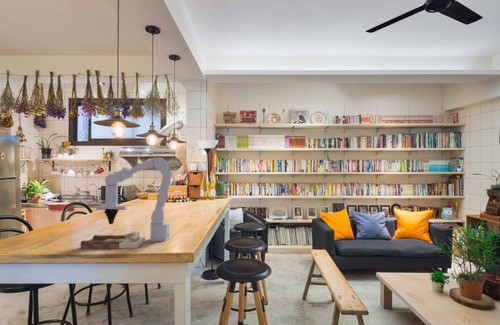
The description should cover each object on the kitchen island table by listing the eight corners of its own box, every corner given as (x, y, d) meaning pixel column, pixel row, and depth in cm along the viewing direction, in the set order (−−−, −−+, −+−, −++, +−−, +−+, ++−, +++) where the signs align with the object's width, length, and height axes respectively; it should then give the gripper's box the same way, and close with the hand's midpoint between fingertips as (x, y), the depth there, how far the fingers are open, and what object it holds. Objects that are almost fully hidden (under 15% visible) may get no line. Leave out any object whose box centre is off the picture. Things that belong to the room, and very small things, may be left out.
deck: (145, 241, 148) (145, 235, 148) (135, 248, 135) (135, 241, 135) (94, 241, 147) (95, 235, 147) (80, 248, 134) (80, 241, 134)
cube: (139, 239, 144) (139, 231, 144) (135, 242, 139) (135, 233, 139) (129, 239, 143) (129, 231, 144) (125, 242, 138) (125, 233, 139)
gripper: (93, 198, 142) (92, 225, 142) (122, 198, 143) (122, 225, 142) (100, 196, 149) (100, 222, 149) (128, 196, 150) (127, 222, 149)
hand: (111, 223), depth 146 cm, fingers closed
